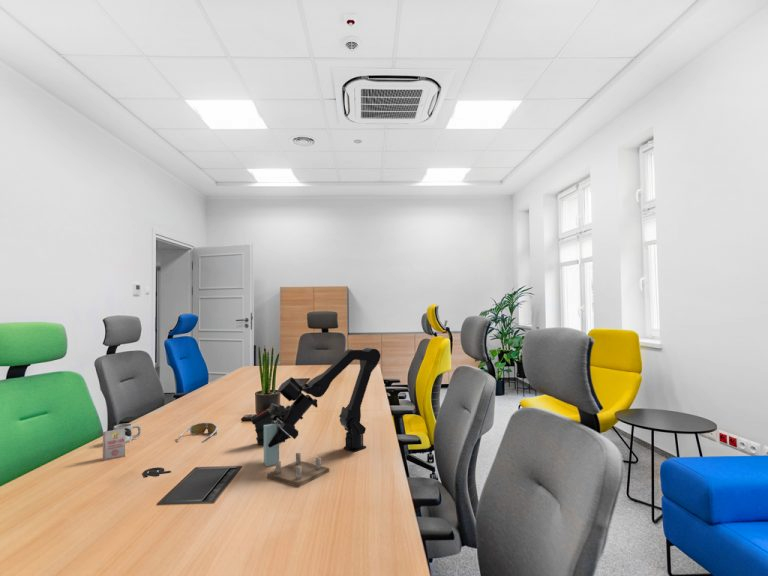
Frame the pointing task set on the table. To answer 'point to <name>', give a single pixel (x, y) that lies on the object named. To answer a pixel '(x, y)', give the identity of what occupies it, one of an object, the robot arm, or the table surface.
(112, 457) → the small printed box
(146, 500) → the table surface
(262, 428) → the black ridged slab
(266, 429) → the block
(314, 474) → the pin stand
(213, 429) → the sunglasses
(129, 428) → the mug
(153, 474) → the black flat pronged piece
